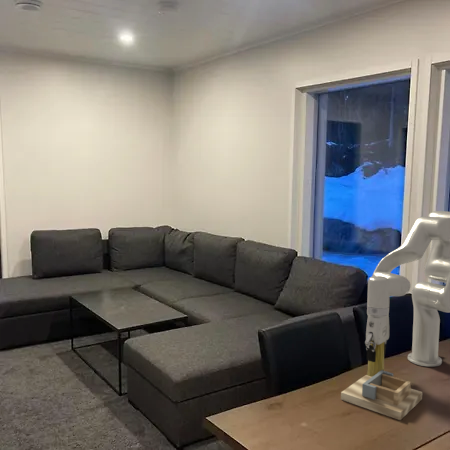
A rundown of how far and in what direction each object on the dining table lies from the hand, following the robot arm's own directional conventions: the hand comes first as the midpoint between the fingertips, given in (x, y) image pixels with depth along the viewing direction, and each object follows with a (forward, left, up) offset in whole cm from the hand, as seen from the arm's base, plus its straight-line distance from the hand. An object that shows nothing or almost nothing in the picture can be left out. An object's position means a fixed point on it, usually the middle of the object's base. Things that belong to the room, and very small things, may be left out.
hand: (376, 357), depth 176 cm
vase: (0, 0, -8) cm, 8 cm away
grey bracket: (+15, +8, -5) cm, 17 cm away
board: (+15, +9, -8) cm, 19 cm away
